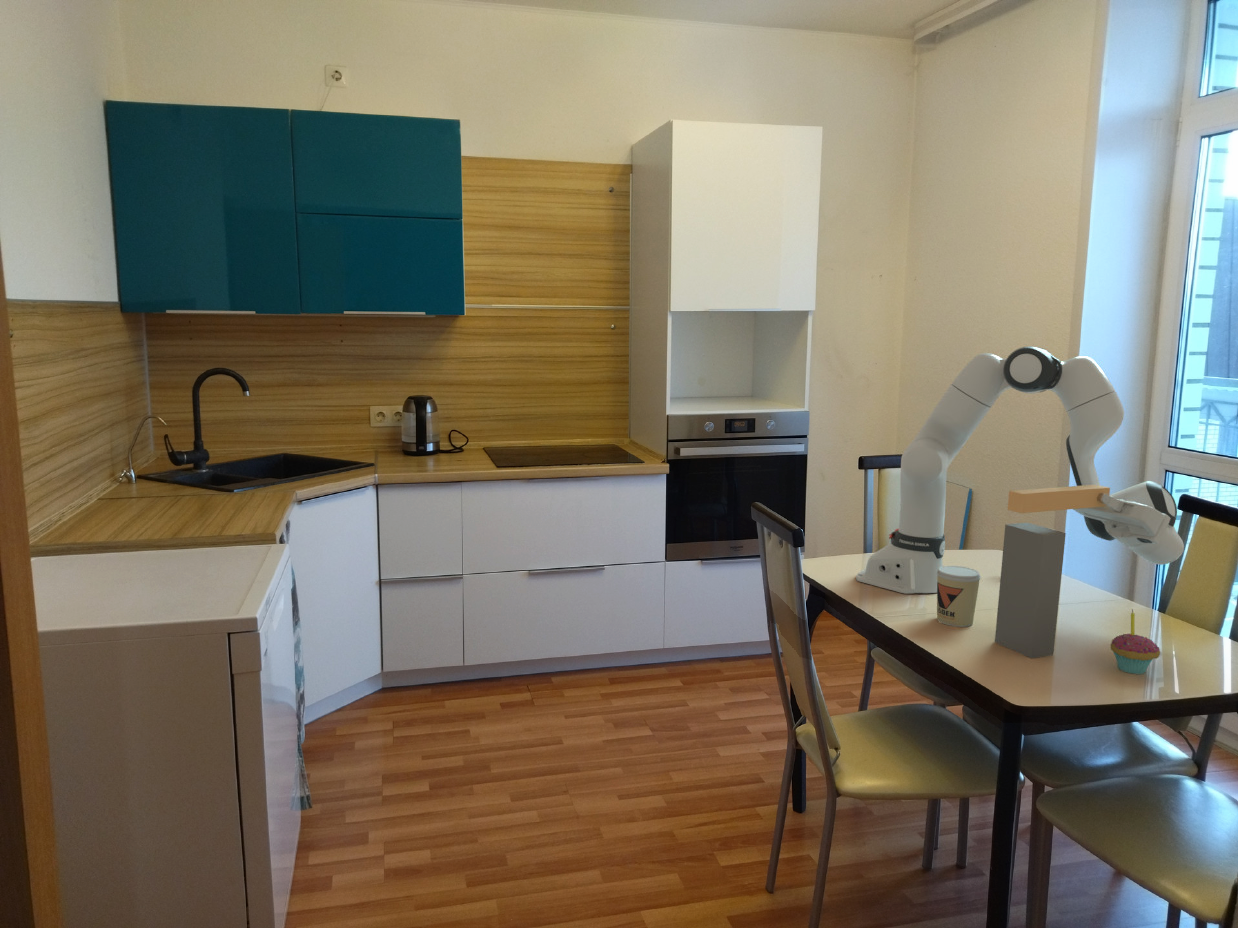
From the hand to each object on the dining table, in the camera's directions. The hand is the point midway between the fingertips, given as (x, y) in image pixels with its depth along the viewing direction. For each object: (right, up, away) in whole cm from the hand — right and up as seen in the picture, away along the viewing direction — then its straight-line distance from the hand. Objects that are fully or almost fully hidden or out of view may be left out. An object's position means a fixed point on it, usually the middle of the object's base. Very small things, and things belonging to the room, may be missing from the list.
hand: (1090, 494), depth 188 cm
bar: (-8, -3, -3) cm, 9 cm away
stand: (-14, -33, 0) cm, 36 cm away
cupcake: (+3, -35, -11) cm, 37 cm away
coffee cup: (-23, -30, +17) cm, 41 cm away
